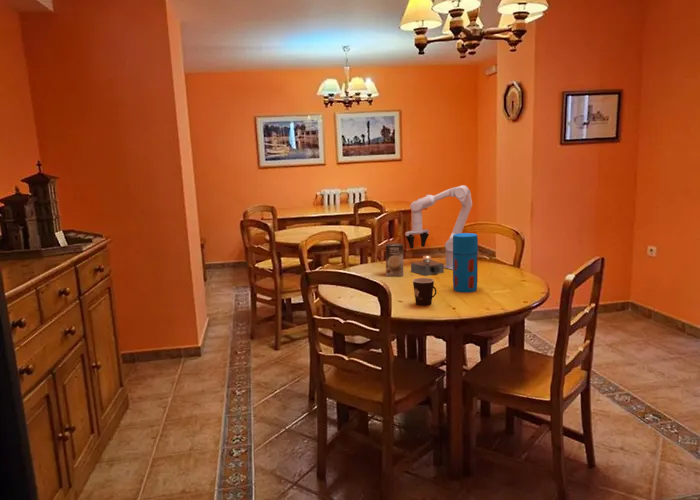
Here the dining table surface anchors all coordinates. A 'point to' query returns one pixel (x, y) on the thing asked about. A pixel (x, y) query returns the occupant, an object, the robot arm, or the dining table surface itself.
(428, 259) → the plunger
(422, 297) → the coffee mug
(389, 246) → the coffee box
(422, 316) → the dining table surface
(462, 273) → the thermos
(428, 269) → the grey flat box
